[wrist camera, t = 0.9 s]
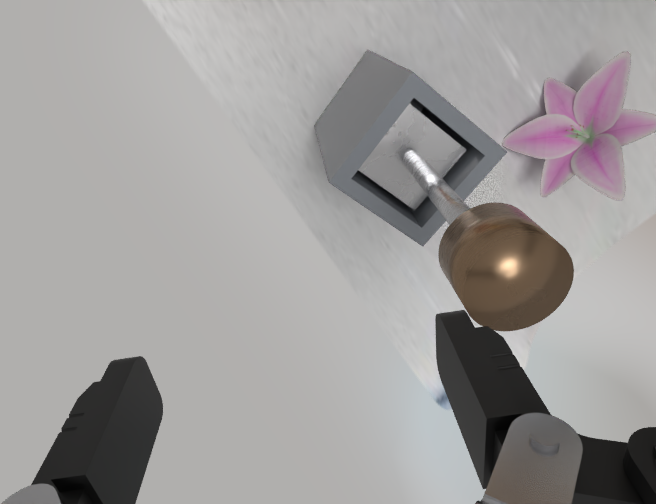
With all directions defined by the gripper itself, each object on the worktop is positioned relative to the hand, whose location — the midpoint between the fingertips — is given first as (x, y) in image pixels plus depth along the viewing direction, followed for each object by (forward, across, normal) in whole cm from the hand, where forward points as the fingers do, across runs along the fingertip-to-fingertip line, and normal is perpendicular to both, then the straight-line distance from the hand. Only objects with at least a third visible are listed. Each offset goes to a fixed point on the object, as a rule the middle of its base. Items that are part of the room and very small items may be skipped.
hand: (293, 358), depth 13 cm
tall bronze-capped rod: (+20, -7, +2) cm, 21 cm away
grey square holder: (+34, -7, +2) cm, 35 cm away
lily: (+34, -25, +5) cm, 43 cm away
